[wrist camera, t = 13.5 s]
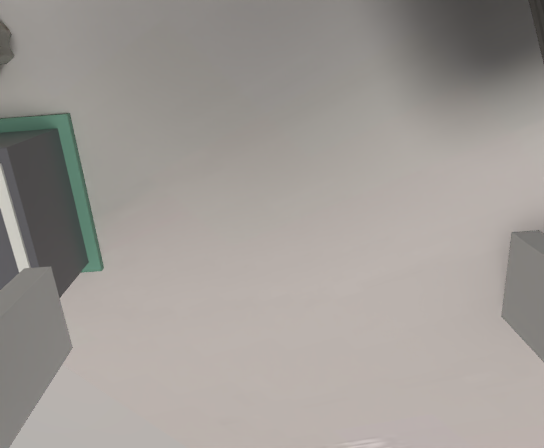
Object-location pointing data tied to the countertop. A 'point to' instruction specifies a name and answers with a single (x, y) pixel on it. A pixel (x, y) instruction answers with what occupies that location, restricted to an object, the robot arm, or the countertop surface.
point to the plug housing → (38, 209)
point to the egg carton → (5, 44)
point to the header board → (74, 174)
